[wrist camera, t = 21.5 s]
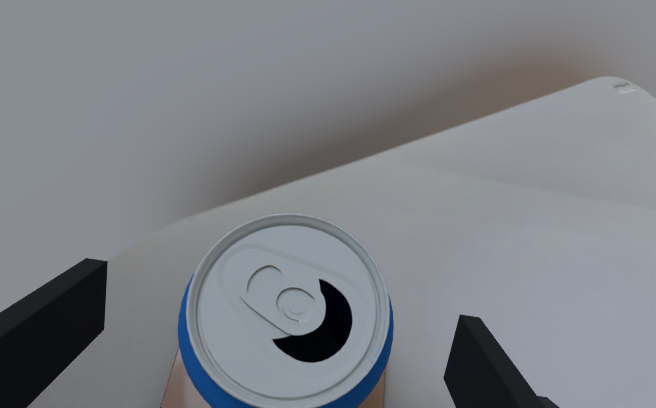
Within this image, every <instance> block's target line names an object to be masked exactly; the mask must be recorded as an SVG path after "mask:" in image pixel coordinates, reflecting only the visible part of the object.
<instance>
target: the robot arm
mask: <svg viewBox="0 0 656 408" xmlns="http://www.w3.org/2000/svg"><path fill="white" fill-rule="evenodd" d="M107 262H108V261H101V260H95V259H88V258H86V259H84V260H83V261H81V262H79V263H78V264H76V265H75V266H73V267H72V268H70V269H68V270H67V271H65V272H64V273H62V274H60V275H59V276H57V277H56V278H54V279H53V280H51V281H49V282H48V283H46V284H45V285H43V286H41V287H40V288H38V289H37V290H36V291H34V292H32V293H31V294H29V295H27V296H26V297H24V298H23V299H21V300H19V301H18V302H16V303H15V304H13V305H11V306H10V307H9V308H7V309H5V310H4V311H2V312H0V408H27V407H28V406H29V405H30V404H31V403H32V402H33V401H34V399H35V398H36V397H37V396H38V395H39V394H40V393H41V392H42V391H43V390H44V389H45V388H46V387H47V386H48V385H49V384H50V383H51V382H52V381H53V380H54V379H55V378H56V377H57V376H58V375H59V374H60V373H61V372H62V371H63V370H64V369H65V368H66V367H67V366H68V365H69V364H70V363H71V362H72V361H73V360H74V359H75V358H76V357H77V356H78V355H79V354H80V353H81V352H82V351H83V350H84V349H85V348H86V347H87V346H88V345H89V344H90V343H91V342H92V341H93V340H94V339H95V338H96V337H97V336H98V335H99V334H100V333H101V332H102V331H103V330H104V320H105V301H106V282H107ZM443 379H444V381H445V383H446V385H447V388H448V390H449V392H450V395H451V397H452V399H453V402H454V404H455V406H456V408H559V407H558V406H557V405H556V404H554V403H553V402H552V401H551V400H549V399H548V398H547V397H541V396H537V395H536V394H535V393H534V391H533V390H532V388H531V387H530V386H529V384H528V383H527V382H526V380H525V379H524V378H523V376H522V375H521V373H520V372H519V371H518V369H517V368H516V367H515V365H514V364H513V362H512V361H511V360H510V358H509V357H508V356H507V354H506V353H505V352H504V350H503V349H502V347H501V346H500V345H499V343H498V342H497V341H496V339H495V338H494V336H493V335H492V334H491V332H490V331H489V330H488V328H487V327H486V326H485V324H484V323H483V321H482V320H481V319H480V318H479V317H473V316H466V315H460V316H459V320H458V324H457V328H456V332H455V336H454V340H453V343H452V347H451V351H450V355H449V359H448V363H447V367H446V371H445V374H444V378H443Z"/></svg>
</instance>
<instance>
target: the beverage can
mask: <svg viewBox="0 0 656 408" xmlns="http://www.w3.org/2000/svg"><path fill="white" fill-rule="evenodd" d="M178 337H179V347H180V352H181V356H182V360H183V363H184V366H185V369H186V371H187V374H188V376H189V378H190V379H191V381H192V383H193V385H194V387H195V388H196V389H197V391H198V392H199V393H200V395H201V396H202V397H203V399H204V400H205V401H206V402H207V403H208V404H209V405H210V406H211V407H212V408H357V407H358V406H359V405H360V404H361V403H362V402H363V401H364V400H365V399H366V397H367V396H368V395H369V394H370V393H371V392H372V390H373V389H374V387H375V386H376V384H377V383H378V381H379V379H380V377H381V375H382V373H383V371H384V369H385V367H386V364H387V361H388V358H389V355H390V351H391V346H392V341H393V311H392V306H391V301H390V297H389V294H388V291H387V286H386V283H385V281H384V278H383V275H382V273H381V271H380V269H379V266H378V264H377V263H376V261H375V260H374V258H373V257H372V255H371V254H370V253H369V251H368V250H367V249H366V248H365V247H364V245H363V244H362V243H361V242H359V241H358V240H357V239H356V238H355V237H354V236H353V235H351V234H350V233H349V232H347V231H346V230H344V229H343V228H341V227H339V226H338V225H336V224H334V223H331V222H329V221H327V220H324V219H321V218H318V217H315V216H310V215H305V214H296V213H279V214H272V215H266V216H262V217H259V218H255V219H253V220H250V221H248V222H245V223H243V224H241V225H239V226H237V227H236V228H234V229H232V230H231V231H229V232H228V233H227V234H225V235H224V236H223V237H221V238H220V239H219V240H218V241H217V242H216V243H215V244H214V245H213V246H212V247H211V248H210V250H209V251H208V252H207V253H206V254H205V256H204V257H203V259H202V260H201V262H200V263H199V265H198V267H197V269H196V271H195V273H194V274H193V276H192V278H191V280H190V282H189V284H188V286H187V288H186V291H185V294H184V297H183V300H182V304H181V309H180V313H179V323H178Z"/></svg>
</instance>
